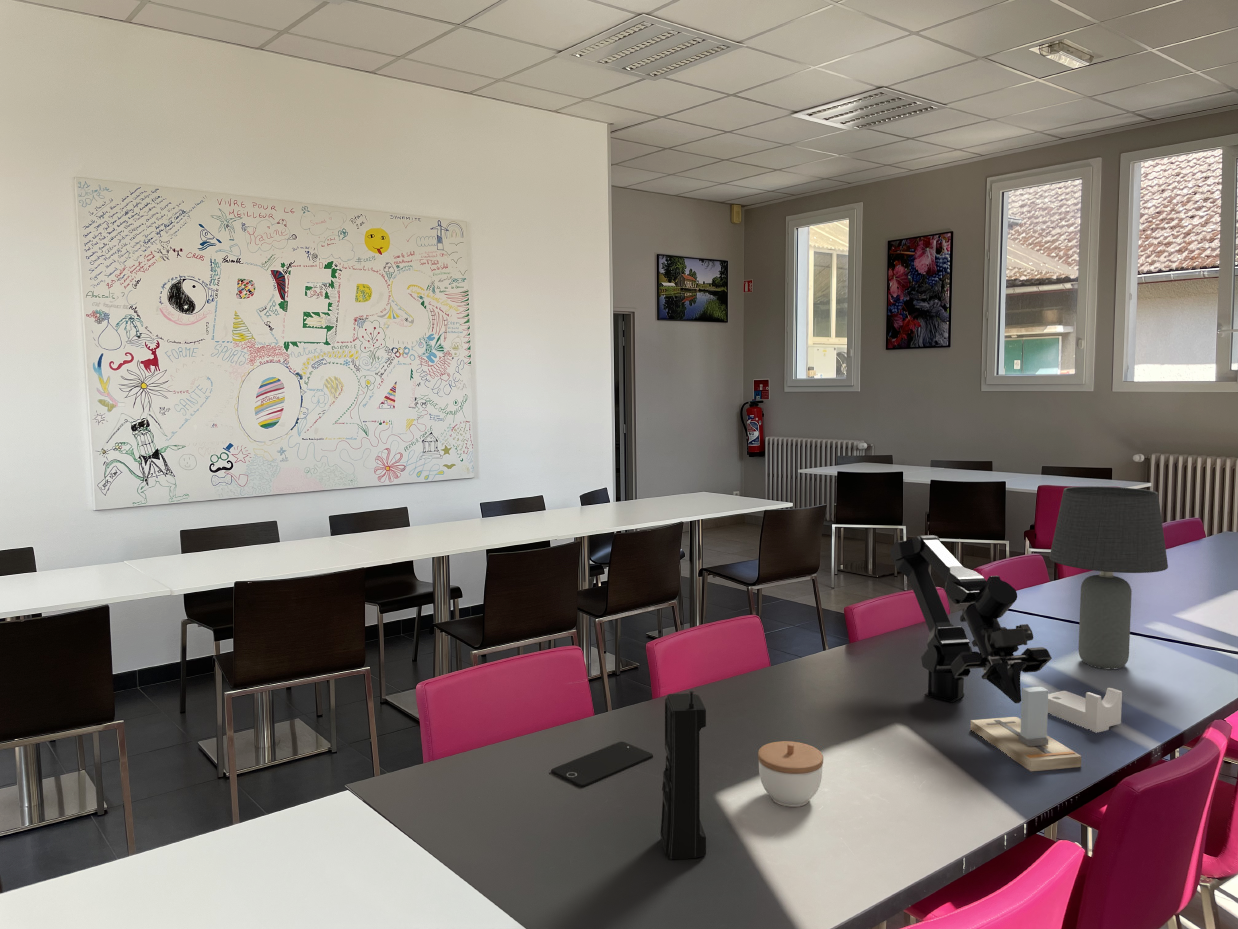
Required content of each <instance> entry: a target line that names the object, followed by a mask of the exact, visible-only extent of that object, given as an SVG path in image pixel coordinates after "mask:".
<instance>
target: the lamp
mask: <svg viewBox="0 0 1238 929" xmlns="http://www.w3.org/2000/svg"><path fill="white" fill-rule="evenodd" d="M1062 491H1063V492H1062V497H1061V501H1060V506H1059V511H1058V514H1057V515H1058V516H1057V520H1056V526H1055V530H1054V534H1053V539H1052V544H1051V548H1050V553H1049V557H1048V558H1049V559H1050V561H1051V562H1053V563H1055V564H1058V565H1061V566H1062V565H1063V566H1065V567H1070V568H1075V569H1080V570H1087V571H1088V570H1089V571H1096V572H1099V574H1093V575H1088V576H1087V577H1086V578H1084V579H1083V581H1081V586H1080V596H1079V597H1080V601H1079V622H1078V623H1079V625H1078V627H1079V629H1078V654H1079V658H1080V659H1081V660H1082V661H1083V663H1085V664H1086V663H1087V664H1086V665H1088V664H1089V665H1088V666H1090V665H1092V666H1091V667H1093V666H1096V667H1095V668H1097V667H1100V668H1099V669H1103V668H1110V669H1109V670H1115V669H1114V668H1118V669H1121V668H1123V667H1124V666H1125V665H1126V664H1127V663H1128V661H1129V657H1130V638H1131V636H1130V635H1131V616H1132V615H1131V614H1132V613H1131V612H1132V595H1133V593H1132V588H1131V584H1130V583H1129V582H1128V581H1127V580H1125V579H1123V578H1122V577H1119V576H1115V575H1114V573H1119V574H1120V573H1121V574H1122V573H1124V574H1144V573H1146V574H1149V573H1157V572H1163V571H1166V570H1167V569H1168V568H1169V564H1168V558H1167V556H1168V555H1167V549H1166V543H1165V542H1166V540H1165V535H1164V533H1165V532H1164V528H1163V521H1162V512H1161V505H1160V498H1159V497H1160V496H1159V492H1157V491H1154V490H1149V489H1143V488H1142V489H1141V488H1134V487H1119V486H1118V487H1117V486H1098V485H1097V486H1090V485H1089V486H1087V485H1086V486H1070V487H1066V488H1063V490H1062Z"/></svg>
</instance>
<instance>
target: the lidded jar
mask: <svg viewBox="0 0 1238 929" xmlns="http://www.w3.org/2000/svg"><path fill="white" fill-rule="evenodd" d="M757 758H758V759H757V760H758V771H759V779H760V782H761V785H762V787H763V789H764V790H765V791H766V793H767V795H768V796H769V797H771V800H772V801H773V802H775V803H776V804H778V805H780V806H783V807H789V808H798V807H802V806H806V805H807V804H808V803H809V801H810V800H811V799H813V797H815V795H816V794H817V792H818V791H819V788H820V786H821V783H822V780H823V779H822V778H823V768H824V767H823V764H824V755H823V753H822V752H821V751H820V750H819V749H818V748H817V747H814V746H812V745H810V744H806V743H803V742H798V741H790V740H789V741H788V740H782V741H774V742H769V743H766V744H764V745H762V746H761V747H760V748H759V750H758V753H757Z"/></svg>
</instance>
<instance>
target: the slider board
mask: <svg viewBox="0 0 1238 929" xmlns="http://www.w3.org/2000/svg"><path fill="white" fill-rule="evenodd" d="M971 730H972V731H971ZM970 731H971V732H973V731H974V732H976V733H977V734H978V735H980V736H982V737H983V738H984V739H985V741H986V740H987V741H988V742H987V741H986V742H987V743H989V742H990V743H991V744H990V743H989V744H990V745H992V744H993V745H994V746H996V747H997V748H999V749H1000V750H1001V752H1002V751H1003V752H1004V753H1003V752H1002V753H1003V754H1005V753H1006V754H1007V755H1006V754H1005V755H1006V756H1007V757H1009V758H1010V757H1011V759H1012V760H1013V761H1015V762H1016V763H1017V764H1019V765H1021V766H1022V767H1024V768H1025V769H1027V770H1028V771H1029V772H1039V771H1041V772H1042V771H1051V770H1060V769H1061V770H1063V769H1071V768H1081V767H1082V755H1080V754H1079V753H1077V752H1076V751H1074V750H1072V749H1071V748H1069V747H1067V746H1066V745H1064V744H1062V743H1061V742H1059V741H1057V740H1056V739H1054V738H1052V737H1051V736H1049V735H1047V738H1048V745H1040V746H1027V745H1026V744H1024V743H1022V742H1021V741H1019V734H1020V732H1021V718H1019V717H1017V716H1007V717H996V718H995V717H994V718H982V719H970ZM974 732H973V733H974ZM976 733H975V734H976ZM977 734H976V735H977ZM978 735H977V736H978ZM980 736H979V737H980ZM983 738H982V739H983ZM984 739H983V740H984ZM993 745H992V746H993ZM994 746H993V747H994ZM996 747H995V748H996ZM997 748H996V749H997ZM999 749H998V750H999ZM1000 750H999V751H1000Z"/></svg>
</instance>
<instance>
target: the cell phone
mask: <svg viewBox="0 0 1238 929" xmlns="http://www.w3.org/2000/svg"><path fill="white" fill-rule="evenodd" d="M653 758H654V754H653V753H651V752H649V751H647V750H644V749H642V748H639V747H637V746H635V745H632V744H630V743H628V742H626V741H618V742H616V743H613V744H610V745H608V746H606V747H603V748H601V749H598V750H596V751H593V752H590V753H588V754H586V755H583V756H580V757H578V758H575V759H573V760H571V761H567V762H565V763H563V764H561V765H558V766H556V767H553V768H552V769H550V773H551V774H552V775H555V776H556V777H558V778H560V779H562V780H565V781H567V782H569V783H570V784H573V785H574V786H577V787H579V788H580V789H584V788H588V787H589V786H592V785H593V784H596V783H598V782H600V781H603V780H606V779H607V778H610V777H612V776H615V775H616V774H618V773H622V772H623V771H625V770H628V769H630V768H633V767H635V766H637V765H640V764H641V763H644V762H647V761H649V760H651V759H653Z"/></svg>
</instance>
